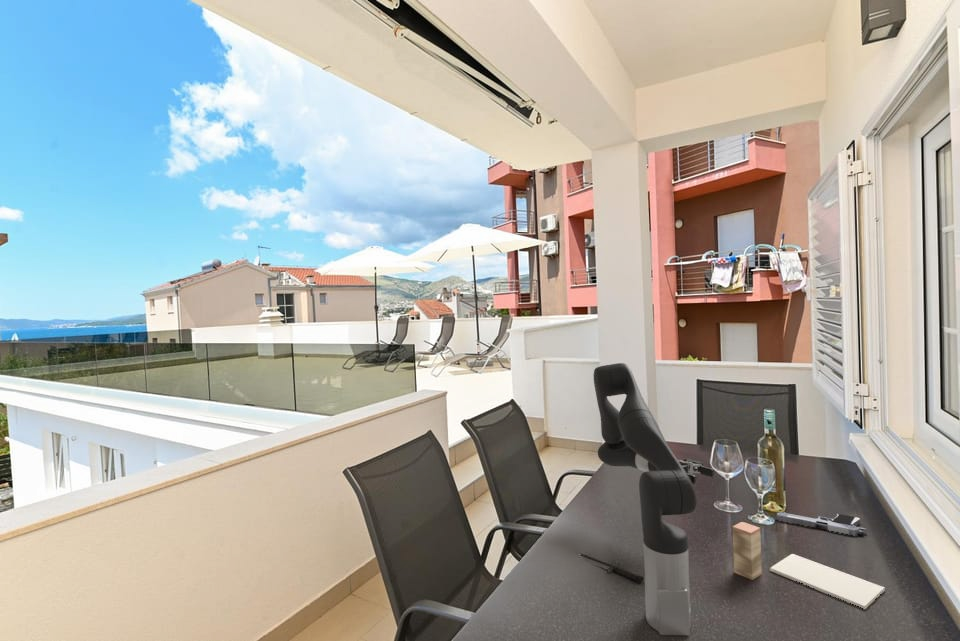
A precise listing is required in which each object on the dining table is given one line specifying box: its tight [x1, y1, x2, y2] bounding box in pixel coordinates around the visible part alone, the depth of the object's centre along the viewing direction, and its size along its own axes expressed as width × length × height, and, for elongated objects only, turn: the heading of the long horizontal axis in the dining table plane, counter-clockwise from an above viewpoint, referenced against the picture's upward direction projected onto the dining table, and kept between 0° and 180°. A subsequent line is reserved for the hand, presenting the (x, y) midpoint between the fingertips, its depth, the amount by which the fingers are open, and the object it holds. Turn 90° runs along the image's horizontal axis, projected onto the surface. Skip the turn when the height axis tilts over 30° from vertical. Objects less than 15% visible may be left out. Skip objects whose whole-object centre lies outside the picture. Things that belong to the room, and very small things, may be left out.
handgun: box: [775, 511, 867, 537], centre depth 149 cm, size 2×22×12 cm
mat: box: [769, 553, 886, 610], centre depth 117 cm, size 20×12×1 cm, turn 33°
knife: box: [579, 553, 644, 584], centre depth 129 cm, size 25×2×5 cm
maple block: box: [732, 521, 763, 581], centre depth 122 cm, size 5×5×12 cm
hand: (704, 476), depth 131 cm, fingers open, 8 cm apart
